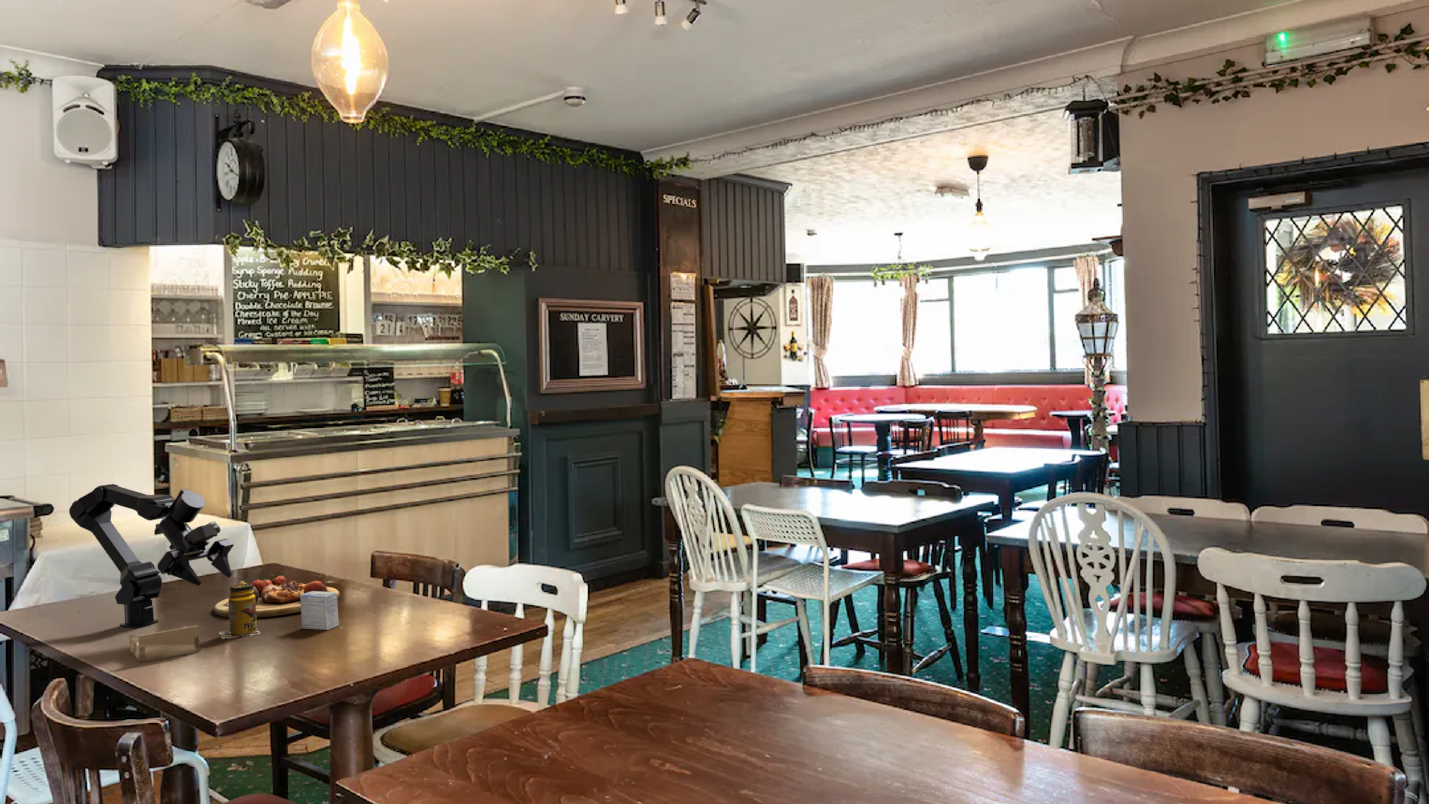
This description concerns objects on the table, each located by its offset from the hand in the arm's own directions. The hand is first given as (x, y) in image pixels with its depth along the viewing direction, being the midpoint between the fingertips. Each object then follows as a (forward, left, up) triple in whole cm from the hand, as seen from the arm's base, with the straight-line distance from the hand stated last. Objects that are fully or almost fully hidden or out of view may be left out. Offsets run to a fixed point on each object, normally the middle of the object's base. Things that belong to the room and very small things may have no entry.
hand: (215, 580), depth 244 cm
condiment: (+7, 0, -13) cm, 15 cm away
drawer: (+2, -17, -13) cm, 21 cm away
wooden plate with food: (-7, +27, -14) cm, 31 cm away
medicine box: (+23, +10, -13) cm, 28 cm away
